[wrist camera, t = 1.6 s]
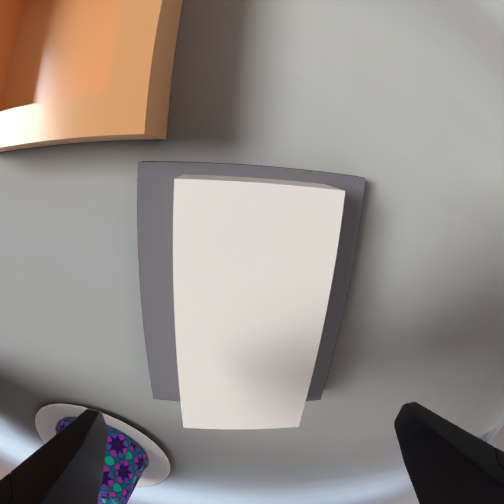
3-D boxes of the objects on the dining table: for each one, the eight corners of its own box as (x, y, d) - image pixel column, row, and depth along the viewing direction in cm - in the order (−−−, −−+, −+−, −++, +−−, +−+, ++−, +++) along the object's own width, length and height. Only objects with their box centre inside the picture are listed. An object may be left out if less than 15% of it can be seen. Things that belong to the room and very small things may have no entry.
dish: (166, 139, 13) (144, 134, 9) (-11, 154, 11) (-58, 160, 8) (193, -49, 9) (188, -93, 6) (21, -12, 8) (-12, -34, 4)
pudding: (165, 412, 18) (156, 474, 13) (176, 488, 22) (173, 533, 17) (19, 381, 17) (-10, 426, 12) (61, 464, 20) (48, 503, 15)
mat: (316, 389, 18) (320, 399, 17) (156, 387, 17) (153, 398, 16) (356, 176, 14) (365, 178, 13) (144, 161, 13) (138, 162, 12)
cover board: (290, 396, 17) (298, 426, 14) (186, 395, 16) (183, 427, 14) (323, 183, 13) (345, 191, 11) (183, 174, 12) (174, 178, 10)
